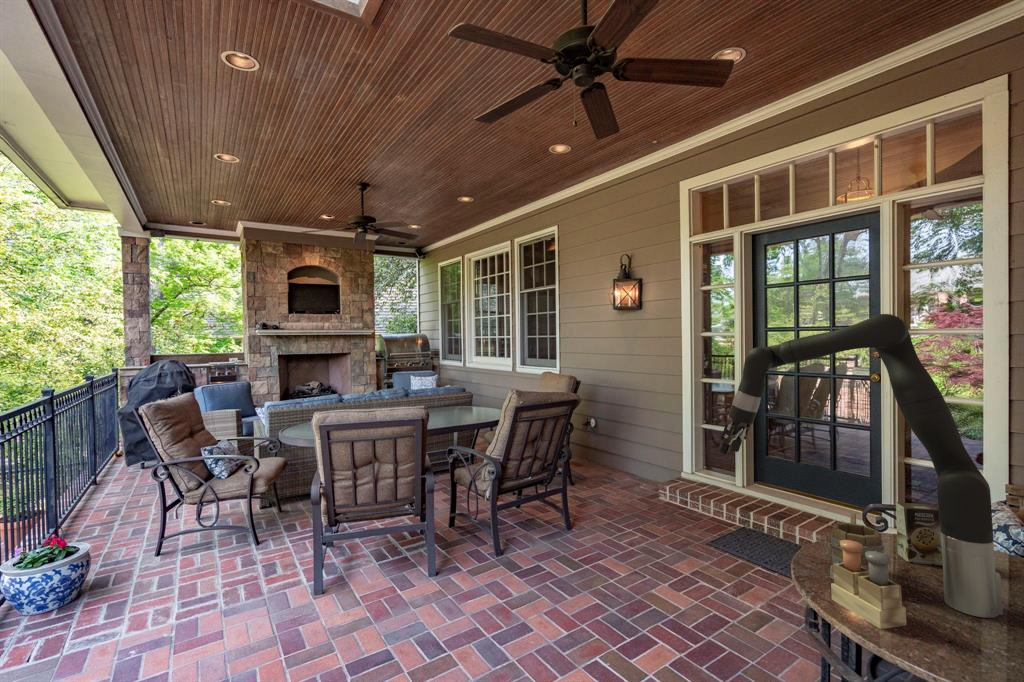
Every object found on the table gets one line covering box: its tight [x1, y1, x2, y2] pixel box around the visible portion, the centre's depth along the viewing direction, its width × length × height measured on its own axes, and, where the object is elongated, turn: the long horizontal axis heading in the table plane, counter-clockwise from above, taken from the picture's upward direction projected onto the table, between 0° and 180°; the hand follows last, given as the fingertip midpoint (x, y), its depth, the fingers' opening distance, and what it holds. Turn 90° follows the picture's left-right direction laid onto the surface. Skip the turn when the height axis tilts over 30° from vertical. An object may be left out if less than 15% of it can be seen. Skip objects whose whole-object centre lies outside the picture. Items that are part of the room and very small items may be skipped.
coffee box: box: [895, 501, 943, 566], centre depth 138 cm, size 9×6×16 cm
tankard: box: [829, 512, 885, 581], centre depth 129 cm, size 20×13×15 cm, turn 143°
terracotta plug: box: [840, 540, 863, 573], centre depth 115 cm, size 5×5×7 cm
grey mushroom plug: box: [865, 551, 891, 587], centre depth 108 cm, size 5×5×7 cm
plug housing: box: [830, 563, 907, 630], centre depth 111 cm, size 7×13×9 cm, turn 9°
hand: (729, 452), depth 150 cm, fingers open, 8 cm apart
